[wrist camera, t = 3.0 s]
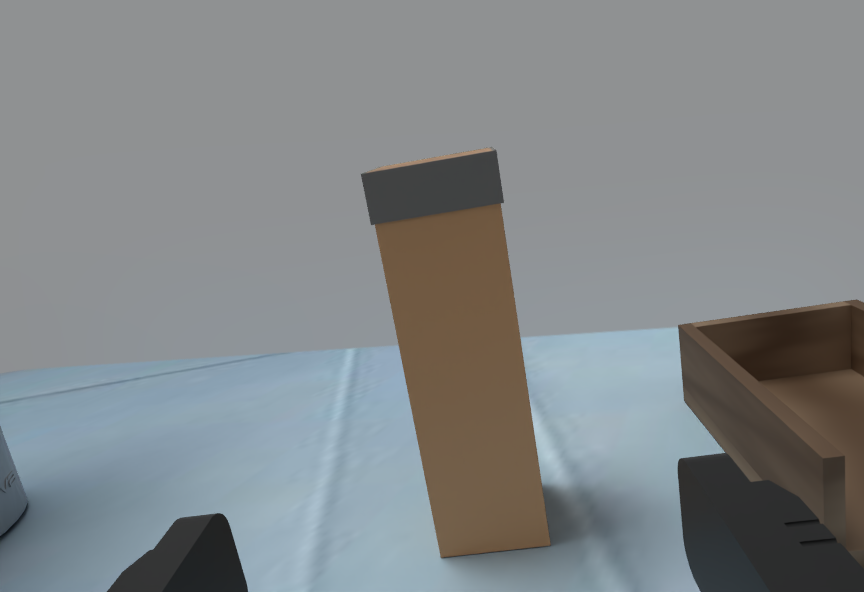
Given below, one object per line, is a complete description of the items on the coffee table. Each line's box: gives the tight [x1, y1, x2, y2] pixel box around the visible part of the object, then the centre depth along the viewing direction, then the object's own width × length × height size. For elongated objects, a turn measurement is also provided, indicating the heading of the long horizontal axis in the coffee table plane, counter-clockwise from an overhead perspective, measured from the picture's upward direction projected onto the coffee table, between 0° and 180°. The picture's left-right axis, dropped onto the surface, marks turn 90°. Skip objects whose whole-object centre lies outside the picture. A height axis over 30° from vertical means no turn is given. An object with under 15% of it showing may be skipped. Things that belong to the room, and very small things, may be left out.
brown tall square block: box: [361, 147, 551, 558], centre depth 22 cm, size 4×4×14 cm
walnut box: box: [678, 300, 864, 568], centre depth 24 cm, size 8×13×4 cm, turn 176°
